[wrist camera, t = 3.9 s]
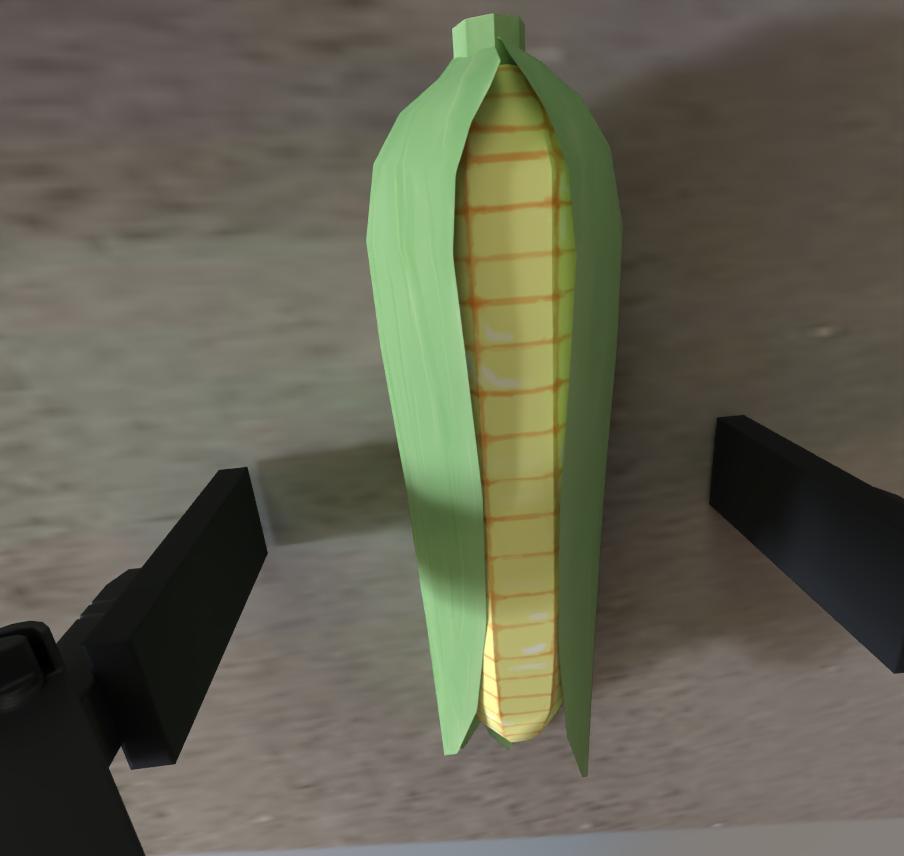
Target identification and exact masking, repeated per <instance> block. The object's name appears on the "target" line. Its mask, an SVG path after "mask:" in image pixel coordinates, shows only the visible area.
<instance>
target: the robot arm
mask: <svg viewBox="0 0 904 856" xmlns="http://www.w3.org/2000/svg"><path fill="white" fill-rule="evenodd" d="M709 504H710V505H711V506H712V507H713V508H714V509H715V510H716V511H717V512H718V513H720V514H721V515H722V516H723V517H724V518H725V519H726V520H727V521H728V522H729V523H730V524H731V525H733V526H734V527H735V528H736V529H737V530H738V531H739V532H740V533H741V534H742V535H743V536H745V537H746V538H747V539H748V540H749V541H750V542H751V543H752V544H753V545H754V546H755V547H757V548H758V549H759V550H760V551H761V552H762V553H763V554H764V555H765V556H766V557H767V558H769V559H770V560H771V561H772V562H773V563H774V564H775V565H776V566H777V567H778V568H779V569H781V570H782V571H783V572H784V573H785V574H786V575H787V576H788V577H789V578H790V579H791V580H793V581H794V582H795V583H796V584H797V585H798V586H799V587H800V588H801V589H802V590H803V591H805V592H806V593H807V594H808V595H809V596H810V597H811V598H812V599H813V600H814V601H815V602H817V603H818V604H819V605H820V606H821V607H822V608H823V609H824V610H825V611H826V612H827V613H829V614H830V615H831V616H832V617H833V618H834V619H835V620H836V621H837V622H838V623H839V624H841V625H842V626H843V627H844V628H845V629H846V630H847V631H848V632H849V633H850V634H851V635H853V636H854V637H855V638H856V639H857V640H858V641H859V642H860V643H861V644H862V645H863V646H865V647H866V648H867V649H868V650H869V651H870V652H871V653H872V654H873V655H874V656H875V657H877V658H878V659H879V660H880V661H881V662H882V663H883V664H884V665H885V666H886V667H887V668H889V669H890V670H891V671H892V672H893V673H894V674H896V673H904V499H903V498H902V497H900V496H898V495H896V494H893V493H890V492H887V491H884V490H881V489H878V488H875V487H872V486H871V485H869V484H867V483H865V482H863V481H862V480H860V479H858V478H856V477H854V476H853V475H851V474H849V473H847V472H845V471H844V470H842V469H840V468H838V467H836V466H835V465H833V464H831V463H829V462H827V461H826V460H824V459H822V458H820V457H818V456H816V455H815V454H813V453H811V452H809V451H807V450H806V449H804V448H802V447H800V446H798V445H797V444H795V443H793V442H791V441H789V440H788V439H786V438H784V437H782V436H780V435H779V434H777V433H775V432H773V431H771V430H770V429H768V428H766V427H764V426H762V425H761V424H759V423H757V422H755V421H753V420H752V419H750V418H748V417H746V416H744V415H739V416H730V417H720V418H717V426H716V437H715V448H714V458H713V469H712V480H711V490H710V501H709ZM267 554H268V552H267V548H266V544H265V539H264V535H263V531H262V527H261V522H260V518H259V514H258V510H257V505H256V501H255V497H254V493H253V488H252V484H251V480H250V476H249V471H248V467H243V468H233V469H224V470H219V471H218V472H217V473H216V474H215V476H214V477H213V478H212V480H211V481H210V482H209V483H208V485H207V486H206V487H205V488H204V490H203V491H202V492H201V493H200V495H199V496H198V497H197V498H196V500H195V501H194V502H193V503H192V505H191V506H190V507H189V509H188V510H187V511H186V512H185V514H184V515H183V516H182V517H181V519H180V520H179V521H178V522H177V524H176V525H175V526H174V527H173V529H172V530H171V531H170V532H169V534H168V535H167V536H166V538H165V539H164V540H163V541H162V543H161V544H160V545H159V546H158V548H157V549H156V550H155V551H154V553H153V554H152V555H151V556H150V558H149V559H148V560H147V561H146V563H145V564H144V565H143V567H142V568H137V569H128V570H127V571H126V572H124V573H123V574H121V575H120V576H118V577H117V578H116V579H114V580H113V581H111V582H110V583H109V584H107V585H106V586H105V587H104V588H103V590H102V591H101V592H100V593H99V594H98V595H97V597H96V598H95V599H94V600H93V601H92V605H89V606H88V607H87V608H86V610H85V611H84V612H83V613H82V614H81V615H80V619H77V620H76V621H75V622H74V624H73V625H72V626H71V627H70V628H69V629H68V631H67V632H66V633H65V634H64V635H63V636H62V638H61V639H60V640H59V641H58V642H57V644H56V643H55V640H54V638H53V635H52V633H51V631H50V628H49V627H48V626H47V625H46V624H44V623H43V622H37V621H26V622H20V623H15V624H11V625H8V626H5V627H2V628H0V856H146V855H145V853H144V851H143V848H142V846H141V843H140V841H139V839H138V836H137V834H136V832H135V829H134V827H133V824H132V822H131V820H130V817H129V815H128V813H127V810H126V808H125V805H124V803H123V801H122V798H121V796H120V794H119V791H118V789H117V786H116V784H115V782H114V779H113V777H112V775H111V772H110V770H109V766H110V764H111V763H112V761H113V759H114V757H115V755H116V754H117V752H118V750H119V748H120V747H121V746H122V749H123V751H124V754H125V756H126V759H127V761H128V764H129V766H130V769H131V770H133V769H141V768H149V767H157V766H165V765H173V764H176V761H177V759H178V757H179V754H180V752H181V750H182V748H183V745H184V743H185V741H186V738H187V736H188V734H189V732H190V729H191V727H192V725H193V723H194V720H195V718H196V716H197V713H198V711H199V709H200V707H201V704H202V702H203V700H204V697H205V695H206V693H207V691H208V688H209V686H210V684H211V681H212V679H213V677H214V675H215V672H216V670H217V668H218V665H219V663H220V661H221V659H222V656H223V654H224V652H225V650H226V647H227V645H228V643H229V640H230V638H231V636H232V634H233V631H234V629H235V627H236V624H237V622H238V620H239V618H240V615H241V613H242V611H243V608H244V606H245V604H246V602H247V599H248V597H249V595H250V593H251V590H252V588H253V586H254V583H255V581H256V579H257V577H258V574H259V572H260V570H261V567H262V565H263V563H264V561H265V558H266V556H267Z"/></svg>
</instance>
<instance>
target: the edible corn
mask: <svg viewBox="0 0 904 856" xmlns="http://www.w3.org/2000/svg"><path fill="white" fill-rule="evenodd" d="M452 33H453V49H454V58H453V60H452V61H451V62H450V64H449V65H448V67H447V68H446V69H445V71H444V72H443V73H442V75H441V76H440V78H439V79H438V80H437V81H436V82H434V83H433V84H432V85H431V86H430V87H429V88H428V89H427V90H425V91H424V92H423V93H422V94H421V95H420V96H419V97H418V98H416V99H415V100H414V101H413V102H412V103H411V104H410V105H409V106H407V107H406V108H405V109H404V110H403V111H402V112H401V113H400V114H399V116H398V118H397V120H396V122H395V124H394V126H393V128H392V130H391V131H390V133H389V135H388V137H387V139H386V141H385V143H384V145H383V147H382V149H381V151H380V153H379V155H378V157H377V159H376V161H375V163H374V164H373V175H372V185H371V196H370V207H369V218H368V228H367V239H366V242H367V249H368V257H369V264H370V272H371V279H372V287H373V294H374V302H375V309H376V317H377V324H378V332H379V339H380V346H381V352H382V357H383V363H384V368H385V374H386V379H387V385H388V391H389V396H390V402H391V407H392V413H393V418H394V424H395V429H396V435H397V440H398V446H399V451H400V457H401V463H402V468H403V474H404V480H405V486H406V493H407V499H408V506H409V512H410V519H411V525H412V532H413V538H414V545H415V551H416V558H417V564H418V571H419V577H420V584H421V590H422V597H423V603H424V610H425V616H426V623H427V630H428V638H429V645H430V652H431V660H432V667H433V674H434V681H435V689H436V696H437V703H438V711H439V718H440V725H441V732H442V740H443V747H444V754H445V755H450V754H457V753H458V751H459V748H464V747H465V745H466V744H467V742H468V741H469V739H470V738H471V736H472V734H473V733H474V731H475V730H476V728H477V727H478V725H479V724H480V722H482V723H484V724H485V725H486V727H487V729H488V731H489V734H490V735H491V736H492V737H493V738H495V739H496V740H497V741H498V742H500V743H501V744H502V745H503V746H504V747H506V748H507V749H508V750H509V748H510V747H511V746H512V744H513V743H514V742H517V741H526V740H531V739H532V738H534V737H536V736H537V735H539V734H540V733H541V732H542V731H543V729H544V728H545V727H546V725H547V724H548V723H549V722H550V720H551V719H552V718H553V716H554V715H555V714H556V713H557V711H558V709H559V708H560V706H561V704H562V702H563V700H564V709H565V719H566V729H567V738H568V740H569V743H570V746H571V748H572V751H573V753H574V756H575V759H576V761H577V764H578V767H579V769H580V772H581V774H582V777H587V775H588V755H589V736H590V717H591V697H592V678H593V658H594V639H595V624H596V608H597V593H598V578H599V563H600V548H601V533H602V518H603V503H604V488H605V475H606V464H607V453H608V442H609V431H610V420H611V408H612V397H613V386H614V375H615V364H616V353H617V342H618V321H619V301H620V281H621V260H622V240H623V225H622V218H621V212H620V205H619V199H618V192H617V186H616V180H615V173H614V167H613V160H612V154H611V148H610V146H609V144H608V142H607V141H606V139H605V137H604V135H603V134H602V132H601V130H600V128H599V127H598V125H597V123H596V121H595V120H594V118H593V116H592V114H591V113H590V111H589V109H588V107H587V106H586V104H585V102H584V100H583V99H582V97H581V96H580V95H579V94H578V93H576V92H575V91H574V90H573V89H571V88H570V87H569V86H568V85H566V84H565V83H564V82H563V81H561V80H560V79H559V78H558V77H557V76H556V75H555V74H554V73H553V72H552V71H550V70H549V69H548V68H547V67H546V66H545V65H544V64H543V63H542V62H541V61H539V60H538V59H536V58H534V57H533V56H531V55H529V54H528V53H526V52H525V24H524V23H523V21H522V20H521V18H520V17H519V16H515V15H505V14H495V13H493V14H488V15H483V16H478V17H473V18H468V19H465V20H463V21H462V22H461V23H460V24H458V25H457V26H456V27H454V28H453V29H452Z"/></svg>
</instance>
